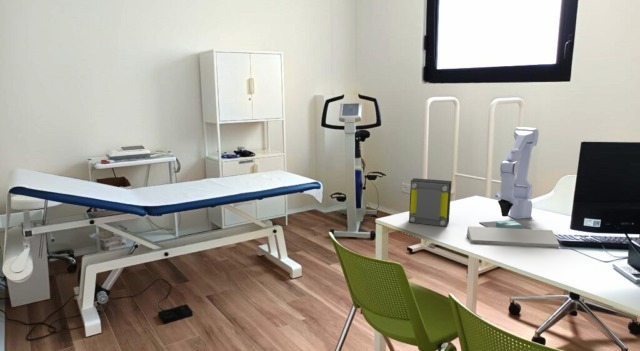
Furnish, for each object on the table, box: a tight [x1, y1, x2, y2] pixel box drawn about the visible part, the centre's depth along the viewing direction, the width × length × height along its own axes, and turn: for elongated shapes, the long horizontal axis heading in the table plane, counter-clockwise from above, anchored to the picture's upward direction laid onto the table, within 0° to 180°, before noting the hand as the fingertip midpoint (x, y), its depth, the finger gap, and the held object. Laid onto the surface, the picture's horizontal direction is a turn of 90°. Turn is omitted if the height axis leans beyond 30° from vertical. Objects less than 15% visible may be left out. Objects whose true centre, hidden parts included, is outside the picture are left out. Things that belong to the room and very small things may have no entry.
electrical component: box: [408, 177, 452, 227], centre depth 215 cm, size 18×10×20 cm, turn 68°
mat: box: [478, 219, 532, 229], centre depth 212 cm, size 18×14×1 cm
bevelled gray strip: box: [466, 225, 560, 248], centre depth 192 cm, size 34×5×10 cm
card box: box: [496, 220, 523, 229], centre depth 210 cm, size 9×2×6 cm
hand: (504, 216), depth 212 cm, fingers closed
